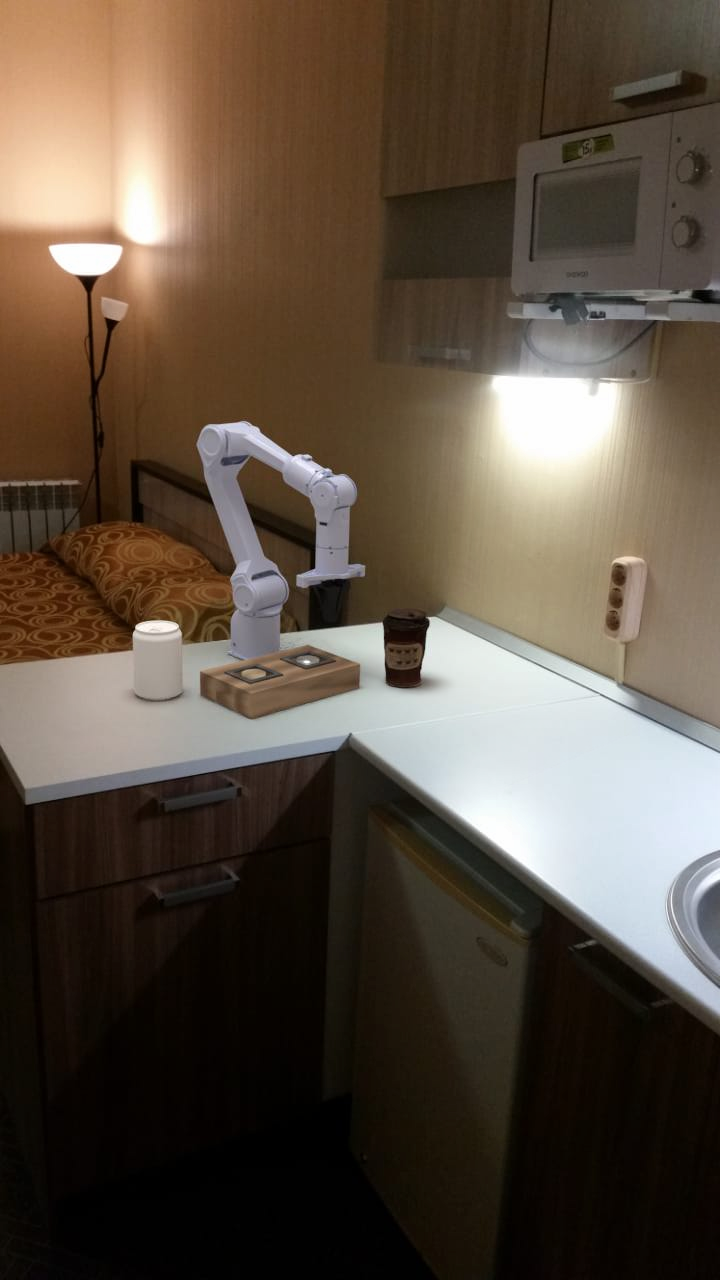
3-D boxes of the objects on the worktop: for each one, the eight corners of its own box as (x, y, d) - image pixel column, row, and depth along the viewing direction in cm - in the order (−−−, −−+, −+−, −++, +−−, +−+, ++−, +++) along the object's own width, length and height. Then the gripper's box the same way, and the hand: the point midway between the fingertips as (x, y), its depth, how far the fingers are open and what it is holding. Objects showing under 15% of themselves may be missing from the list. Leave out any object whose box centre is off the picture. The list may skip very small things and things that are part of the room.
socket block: (200, 695, 185) (199, 669, 183) (307, 667, 201) (307, 643, 199) (251, 719, 175) (251, 691, 174) (359, 687, 191) (360, 662, 190)
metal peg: (291, 682, 192) (291, 658, 190) (308, 678, 194) (309, 654, 193) (306, 688, 189) (306, 664, 188) (323, 683, 192) (324, 659, 190)
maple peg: (237, 697, 184) (237, 672, 183) (255, 692, 186) (255, 667, 185) (251, 703, 181) (251, 678, 180) (270, 698, 184) (270, 673, 182)
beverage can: (188, 687, 188) (187, 621, 185) (175, 703, 181) (174, 634, 177) (142, 684, 189) (140, 618, 185) (128, 700, 181) (126, 631, 178)
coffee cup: (427, 692, 190) (431, 620, 186) (380, 690, 190) (382, 618, 186) (425, 675, 198) (429, 607, 195) (380, 674, 198) (383, 605, 195)
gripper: (316, 555, 182) (314, 633, 186) (378, 544, 191) (375, 618, 195) (288, 547, 187) (287, 623, 191) (350, 537, 196) (348, 610, 200)
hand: (330, 620), depth 193 cm, fingers closed
